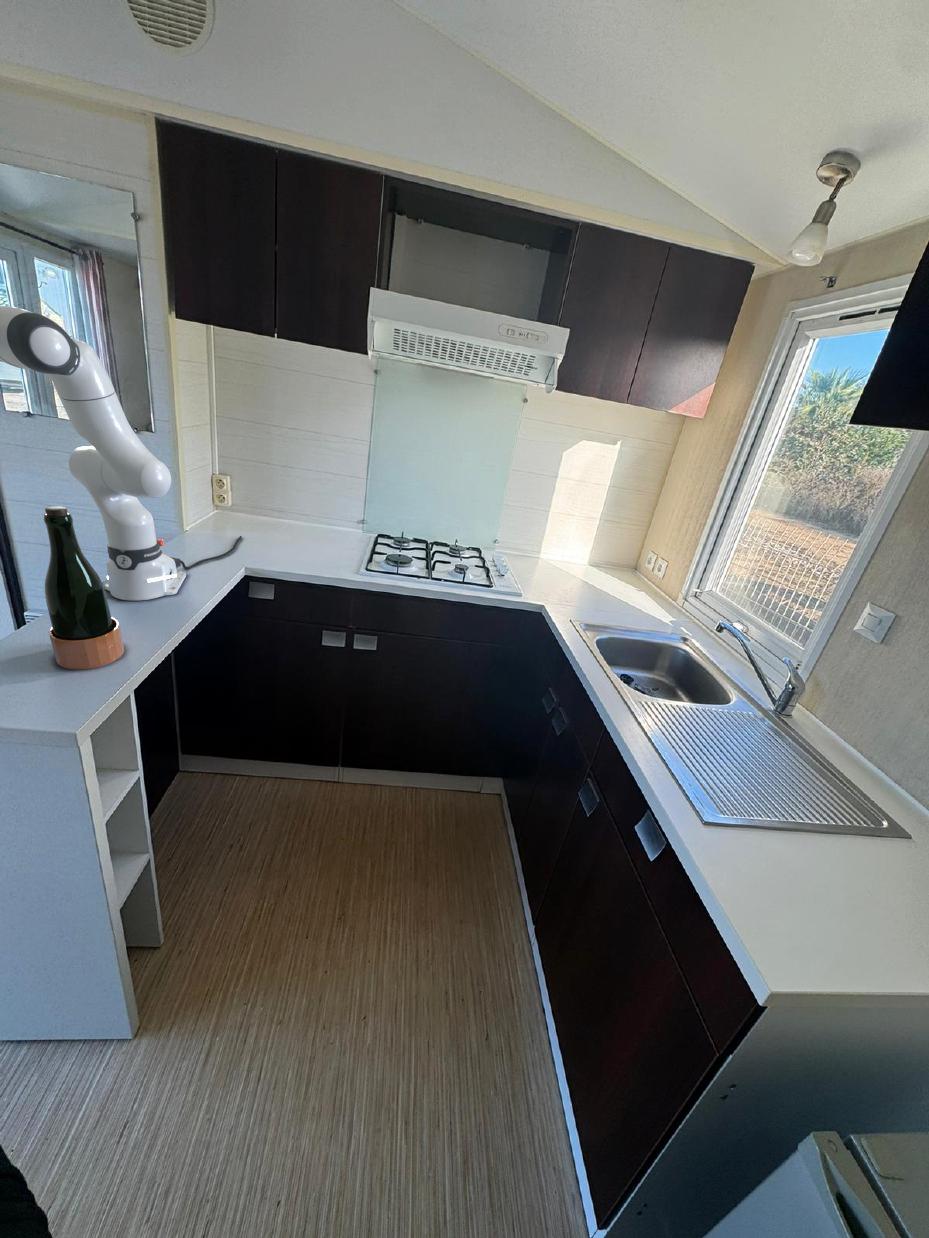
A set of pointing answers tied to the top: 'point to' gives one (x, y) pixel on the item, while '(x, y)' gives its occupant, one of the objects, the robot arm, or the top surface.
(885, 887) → the top surface
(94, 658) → the copper bottle coaster
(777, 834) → the top surface
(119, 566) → the robot arm
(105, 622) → the green wine bottle
